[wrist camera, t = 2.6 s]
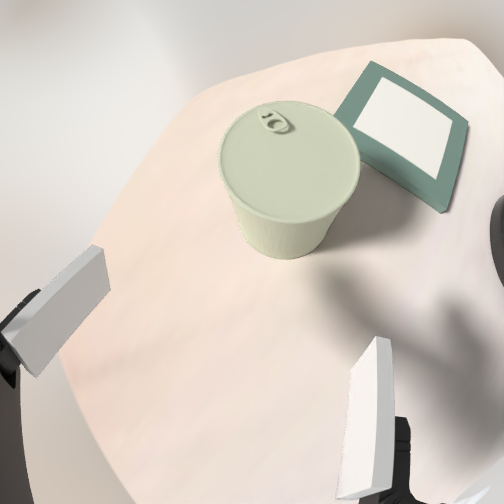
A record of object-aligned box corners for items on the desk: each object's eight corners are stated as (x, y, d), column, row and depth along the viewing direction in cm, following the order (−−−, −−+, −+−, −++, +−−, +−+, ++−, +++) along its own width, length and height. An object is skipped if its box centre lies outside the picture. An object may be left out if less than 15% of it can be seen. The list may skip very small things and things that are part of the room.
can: (302, 159, 30) (316, 81, 18) (346, 235, 28) (391, 185, 16) (223, 193, 29) (194, 125, 18) (261, 275, 27) (253, 249, 16)
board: (463, 126, 29) (468, 121, 28) (440, 213, 27) (447, 209, 26) (368, 67, 32) (370, 59, 30) (321, 138, 30) (323, 130, 28)
